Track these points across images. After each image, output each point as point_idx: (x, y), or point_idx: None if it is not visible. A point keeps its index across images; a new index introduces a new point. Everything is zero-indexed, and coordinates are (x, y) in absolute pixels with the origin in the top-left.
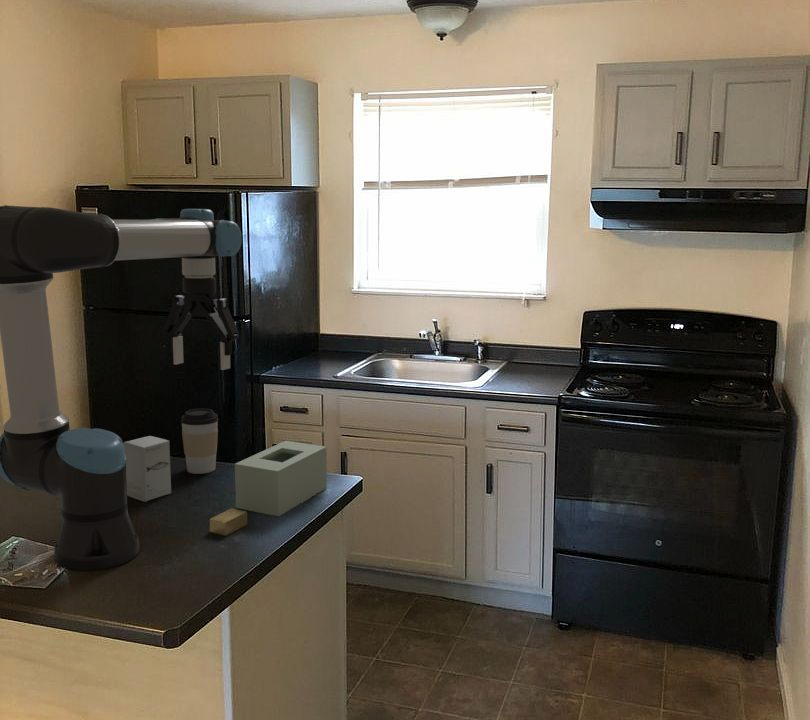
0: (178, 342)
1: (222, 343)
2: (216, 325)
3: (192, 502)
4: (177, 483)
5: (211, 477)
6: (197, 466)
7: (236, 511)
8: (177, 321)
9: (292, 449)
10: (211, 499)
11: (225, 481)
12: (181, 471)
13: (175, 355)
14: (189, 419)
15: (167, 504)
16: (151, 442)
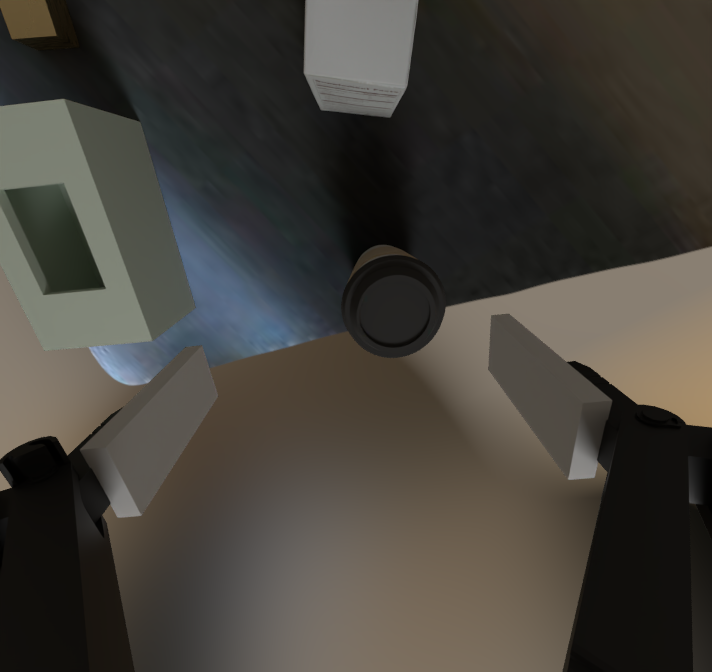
0: (550, 407)
1: (88, 442)
2: (22, 600)
3: (239, 92)
4: (360, 175)
5: (328, 246)
6: (368, 250)
7: (28, 22)
8: (686, 557)
9: (77, 293)
10: (223, 135)
11: (287, 243)
12: (408, 241)
13: (515, 335)
14: (392, 267)
15: (273, 44)
16: (331, 6)
